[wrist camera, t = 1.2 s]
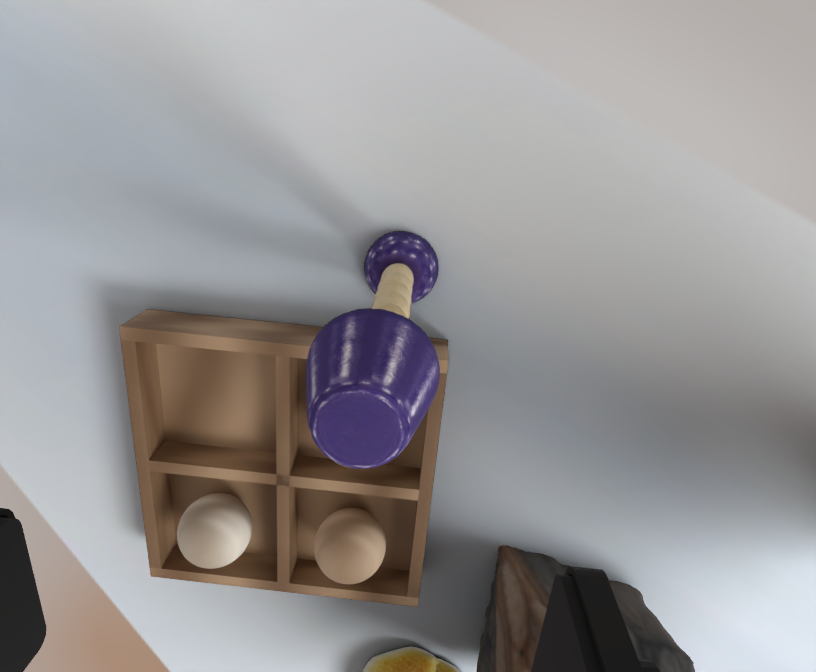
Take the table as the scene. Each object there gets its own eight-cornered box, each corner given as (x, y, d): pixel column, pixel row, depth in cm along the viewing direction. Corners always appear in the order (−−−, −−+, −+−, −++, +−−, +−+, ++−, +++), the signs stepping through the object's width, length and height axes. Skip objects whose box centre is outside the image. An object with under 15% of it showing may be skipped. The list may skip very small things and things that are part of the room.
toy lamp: (453, 295, 31) (464, 467, 15) (380, 323, 32) (320, 513, 16) (421, 218, 29) (398, 322, 14) (345, 250, 30) (244, 381, 15)
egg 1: (261, 482, 35) (236, 531, 31) (262, 536, 37) (239, 589, 33) (193, 475, 36) (159, 522, 31) (198, 528, 37) (166, 580, 33)
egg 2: (391, 496, 35) (384, 547, 31) (386, 550, 37) (379, 605, 33) (323, 489, 35) (306, 539, 31) (321, 542, 37) (305, 596, 33)
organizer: (447, 339, 32) (448, 360, 29) (419, 572, 39) (417, 606, 36) (147, 309, 32) (119, 326, 29) (171, 544, 39) (150, 576, 36)
